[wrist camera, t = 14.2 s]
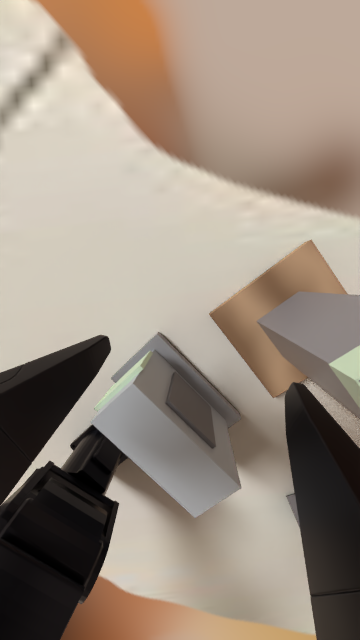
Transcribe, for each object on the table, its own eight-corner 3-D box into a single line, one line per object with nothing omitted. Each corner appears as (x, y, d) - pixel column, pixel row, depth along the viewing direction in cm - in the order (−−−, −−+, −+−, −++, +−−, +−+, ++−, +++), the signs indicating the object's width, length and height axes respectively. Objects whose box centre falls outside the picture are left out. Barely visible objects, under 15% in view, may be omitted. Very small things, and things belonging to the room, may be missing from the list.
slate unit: (191, 448, 24) (190, 533, 16) (114, 374, 23) (69, 424, 15) (239, 412, 23) (264, 486, 15) (158, 331, 22) (136, 360, 13)
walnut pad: (269, 393, 22) (273, 398, 21) (209, 313, 21) (209, 315, 20) (366, 334, 20) (375, 336, 19) (305, 242, 19) (311, 239, 18)
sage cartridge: (282, 358, 20) (419, 471, 8) (255, 320, 20) (354, 380, 7) (327, 330, 19) (557, 408, 7) (299, 290, 19) (495, 299, 7)
